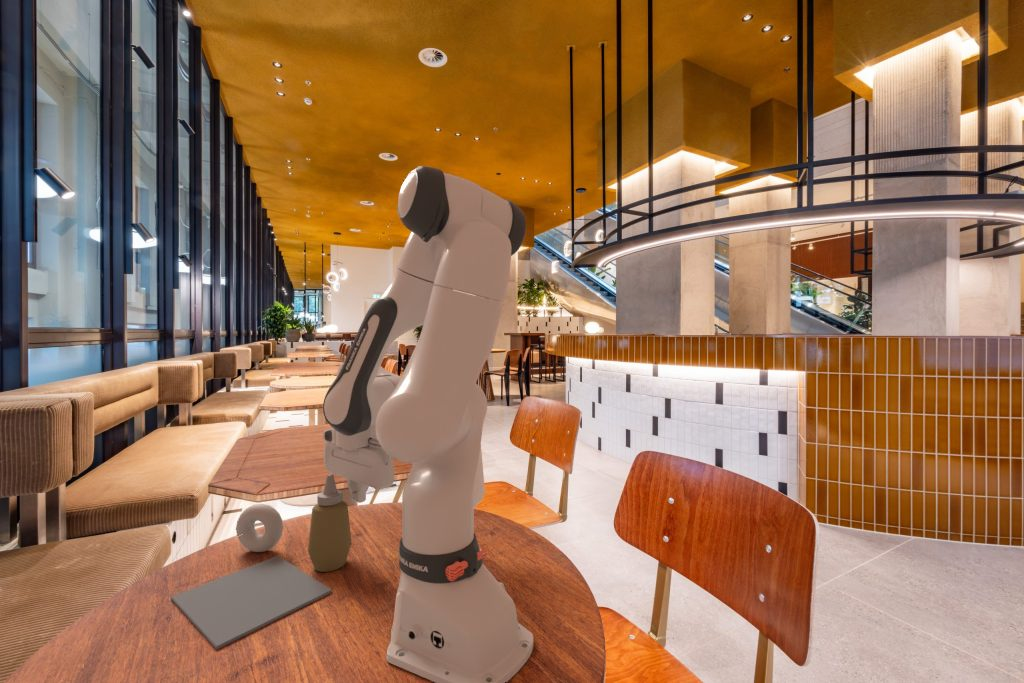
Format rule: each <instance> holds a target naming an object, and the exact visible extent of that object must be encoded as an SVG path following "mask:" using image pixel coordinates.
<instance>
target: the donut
mask: <svg viewBox="0 0 1024 683" xmlns="http://www.w3.org/2000/svg"><path fill="white" fill-rule="evenodd" d="M257 521H259V522H260V523H262V525H263V527H264V533H263V534H260V533H258V532H257V530H256V527H255V523H256V522H257ZM235 530H236V532H235V533H236V537H237V536H239V535H241V534H243V535H241V536H239V537H237V539H238V541H239V543H240V544H241V545H242V546H243V548H244V549H246V550H248V551H250V552H253V553H263V552H267V551H268V550H270V549H273V548H274V547H275V546H276V545H277V544H278V543H279V542H280V540H281V537H282V535H283V531H284V523H283V519H282V517H281V514H280V513H279V511H278V510H277V509H276V508H274V507H273V506H271V505H269V504H265V503H258V504H257V503H256V504H251V505H250V506H248V507H246V508H245V509H244V510H243V511H242V513H241V514H240V515H239V517H238V519H237V521H236V527H235Z"/></svg>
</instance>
